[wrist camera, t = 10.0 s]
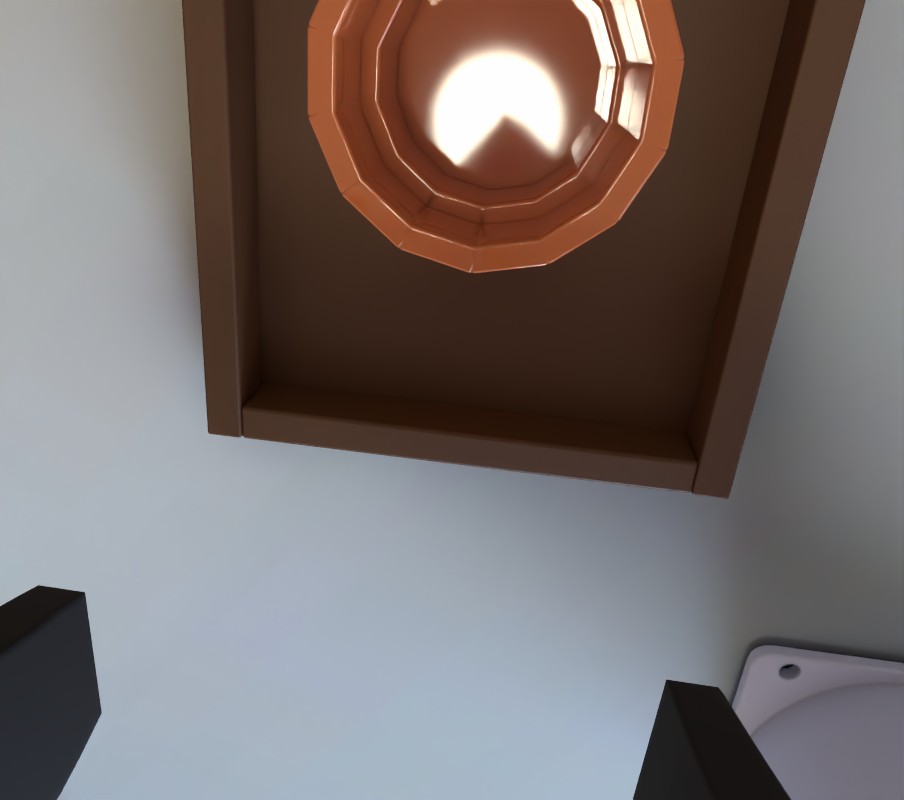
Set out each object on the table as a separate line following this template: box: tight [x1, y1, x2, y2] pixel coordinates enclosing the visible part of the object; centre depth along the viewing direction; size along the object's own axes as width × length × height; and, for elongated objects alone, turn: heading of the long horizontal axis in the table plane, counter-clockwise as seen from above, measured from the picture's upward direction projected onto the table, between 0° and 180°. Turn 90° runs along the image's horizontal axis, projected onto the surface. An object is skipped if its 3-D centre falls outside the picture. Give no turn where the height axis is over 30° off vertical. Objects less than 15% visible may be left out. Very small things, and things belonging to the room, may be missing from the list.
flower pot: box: [307, 0, 685, 273], centre depth 13 cm, size 6×6×4 cm
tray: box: [182, 0, 865, 498], centre depth 14 cm, size 12×16×2 cm
